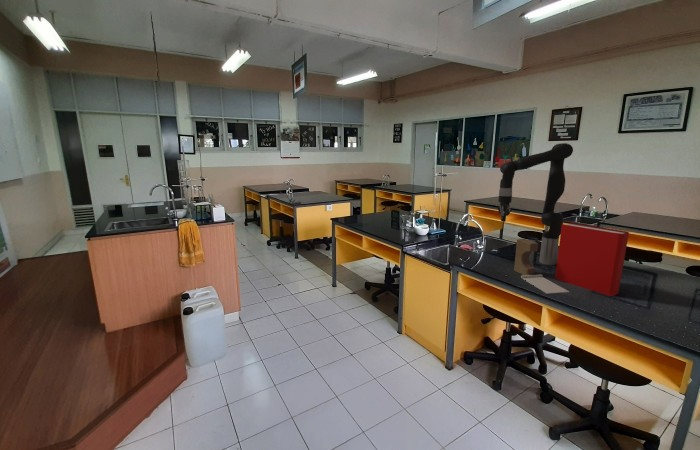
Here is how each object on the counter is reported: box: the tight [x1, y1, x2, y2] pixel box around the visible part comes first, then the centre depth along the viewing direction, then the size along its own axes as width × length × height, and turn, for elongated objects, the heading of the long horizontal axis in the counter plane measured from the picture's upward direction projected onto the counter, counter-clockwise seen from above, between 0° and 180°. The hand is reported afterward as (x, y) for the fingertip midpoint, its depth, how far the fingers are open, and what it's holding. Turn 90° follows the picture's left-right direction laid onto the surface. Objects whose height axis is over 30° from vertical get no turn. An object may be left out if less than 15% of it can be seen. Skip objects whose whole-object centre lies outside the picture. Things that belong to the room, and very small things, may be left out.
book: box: [554, 222, 630, 297], centre depth 169 cm, size 27×8×32 cm, turn 30°
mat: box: [520, 273, 570, 295], centre depth 174 cm, size 12×22×2 cm, turn 6°
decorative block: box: [513, 238, 539, 275], centre depth 189 cm, size 11×6×20 cm, turn 12°
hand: (503, 221), depth 207 cm, fingers closed
